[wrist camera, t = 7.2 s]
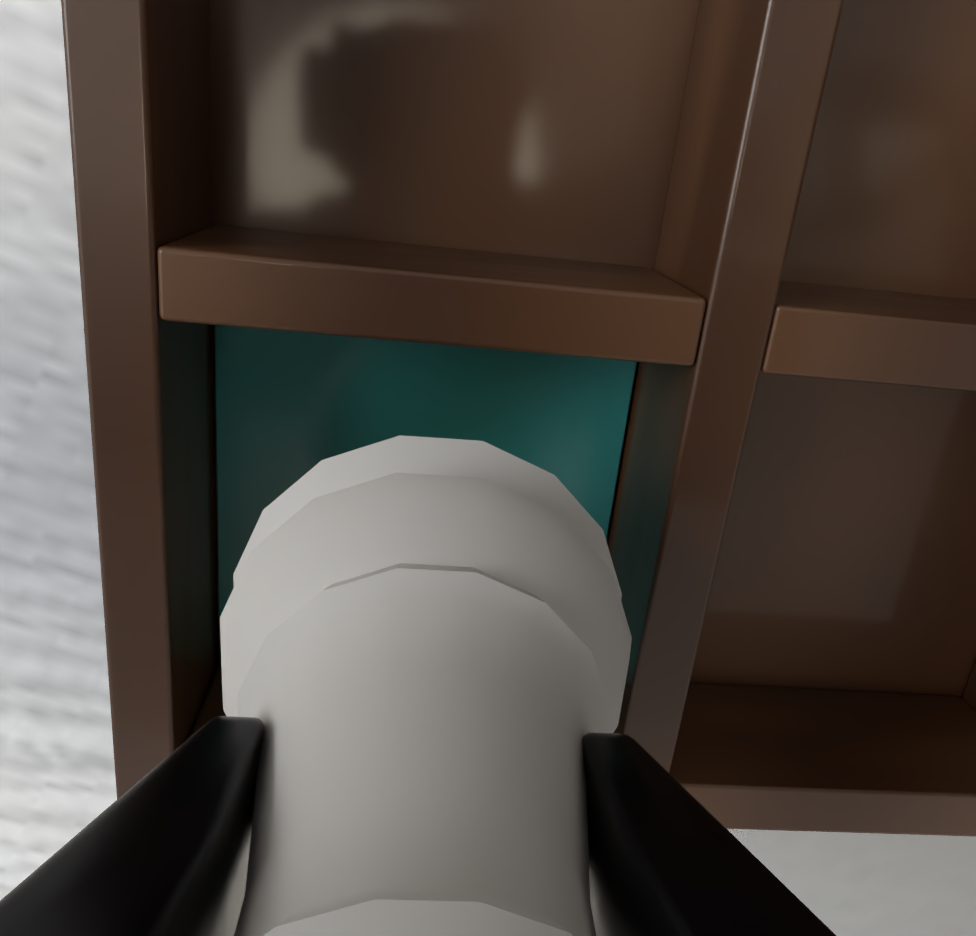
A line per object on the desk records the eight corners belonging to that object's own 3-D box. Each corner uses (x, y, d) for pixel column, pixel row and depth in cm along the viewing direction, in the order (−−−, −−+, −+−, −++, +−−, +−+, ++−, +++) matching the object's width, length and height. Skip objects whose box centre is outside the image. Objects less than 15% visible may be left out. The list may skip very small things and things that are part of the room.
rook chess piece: (461, 800, 11) (494, 2116, 4) (167, 628, 10) (-638, 2042, 3) (690, 565, 10) (1398, 1785, 3) (389, 337, 9) (92, 1377, 1)
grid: (1328, -232, 10) (1656, -367, 8) (972, 716, 16) (1090, 841, 13) (137, -440, 9) (7, -699, 6) (177, 679, 14) (116, 811, 11)
